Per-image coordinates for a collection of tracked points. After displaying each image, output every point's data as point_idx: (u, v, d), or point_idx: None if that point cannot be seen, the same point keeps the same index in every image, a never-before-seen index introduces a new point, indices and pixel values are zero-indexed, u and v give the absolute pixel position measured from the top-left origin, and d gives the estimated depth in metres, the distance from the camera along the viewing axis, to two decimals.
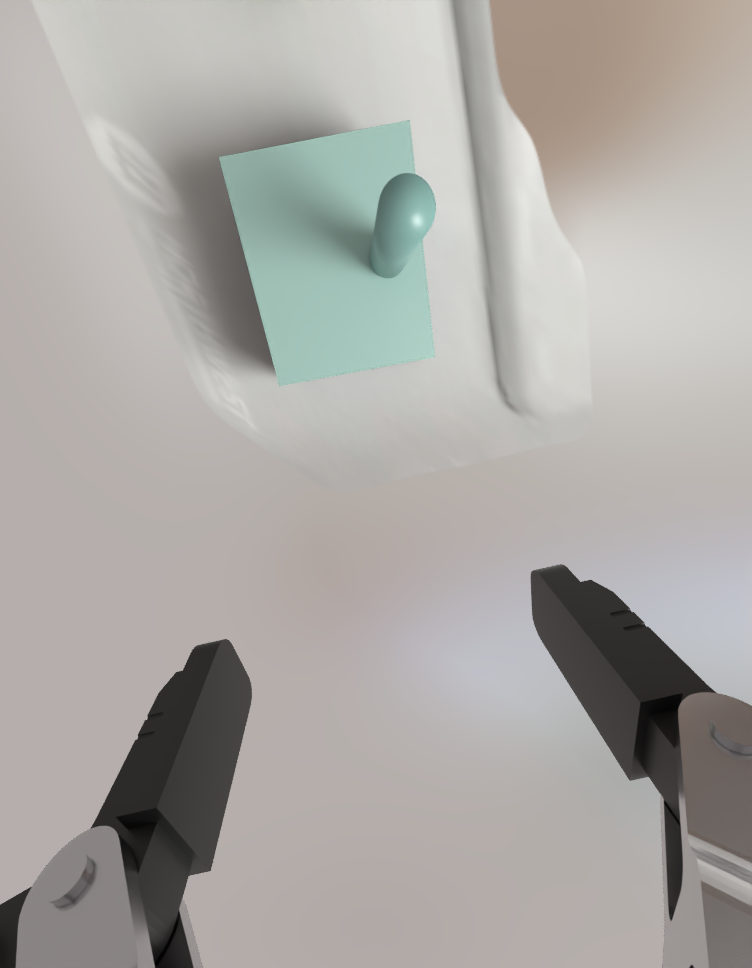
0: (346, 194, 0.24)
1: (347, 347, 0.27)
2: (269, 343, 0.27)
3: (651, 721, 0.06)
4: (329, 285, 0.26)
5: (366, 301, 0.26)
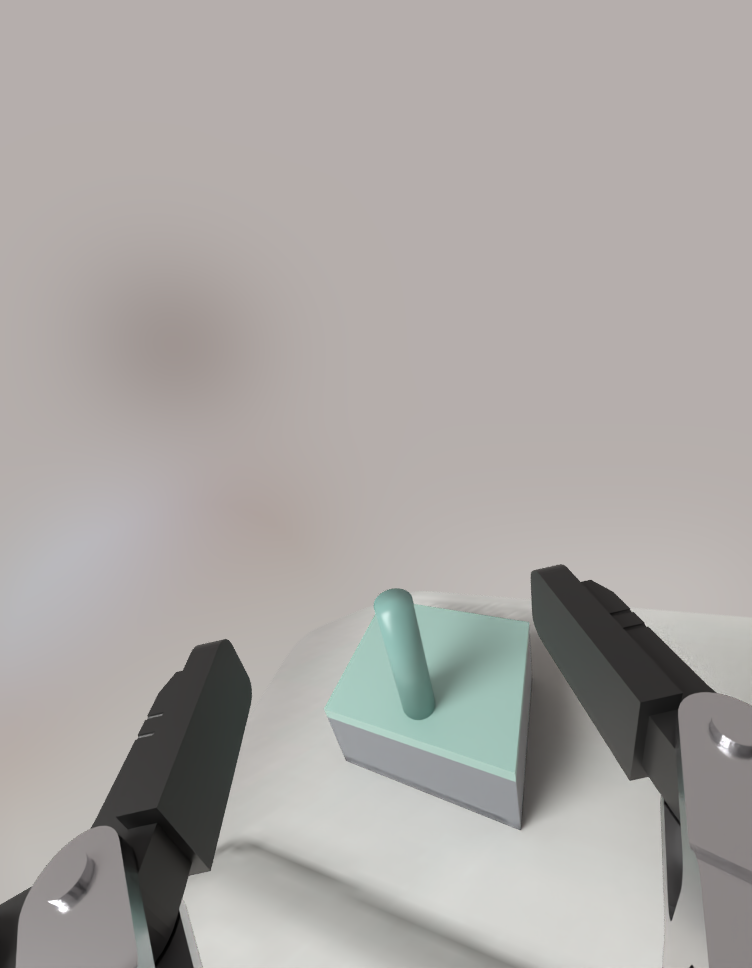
0: (477, 691, 0.27)
1: (377, 647, 0.33)
2: None
3: (650, 721, 0.06)
4: None
5: None
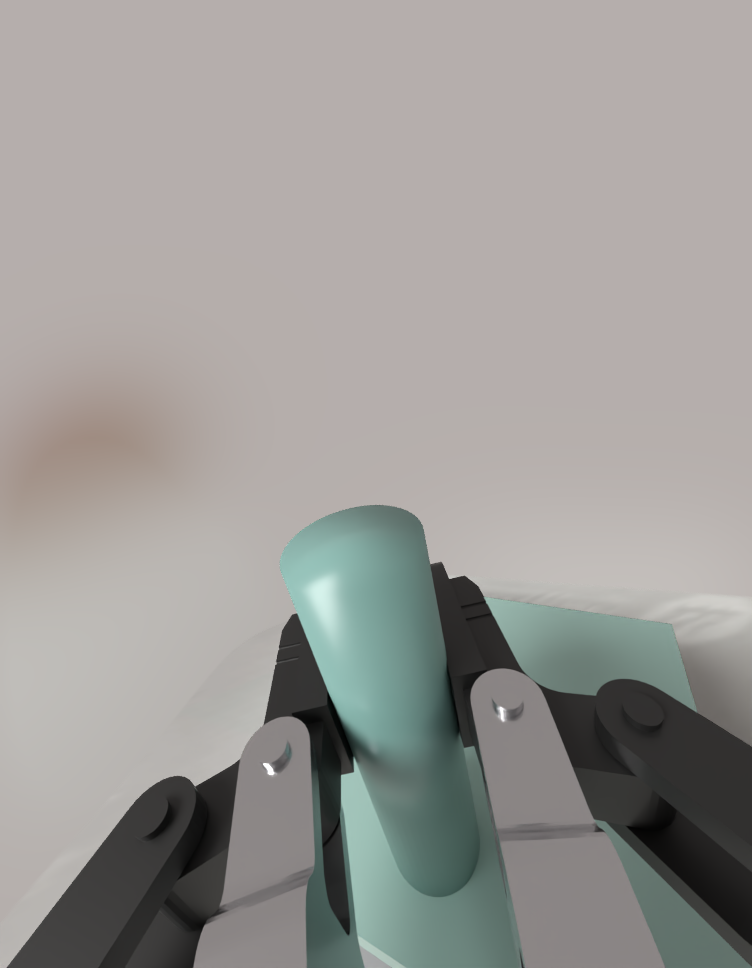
0: None
1: None
2: None
3: (466, 695, 0.07)
4: None
5: None
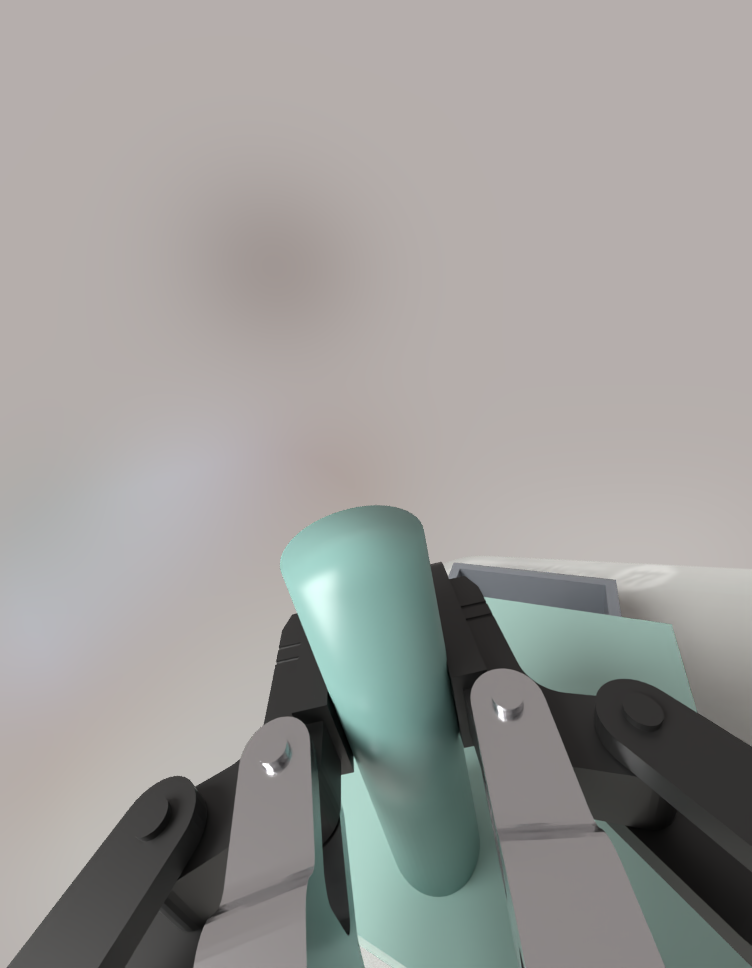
0: None
1: None
2: None
3: (466, 695, 0.07)
4: None
5: None
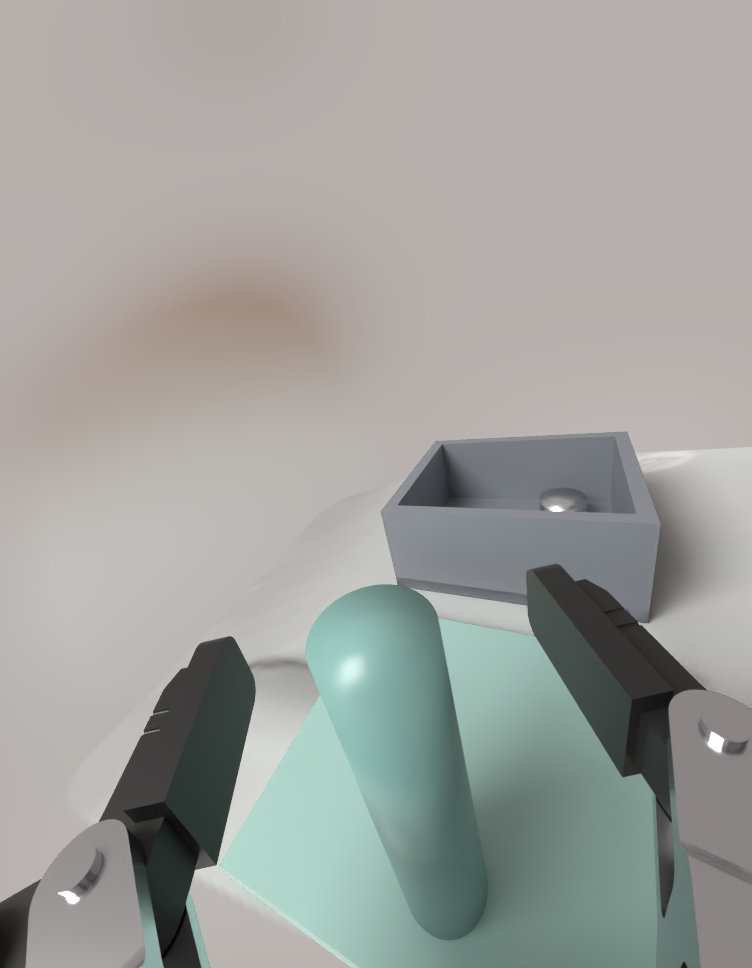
0: (593, 851, 0.11)
1: None
2: None
3: (641, 718, 0.06)
4: None
5: None
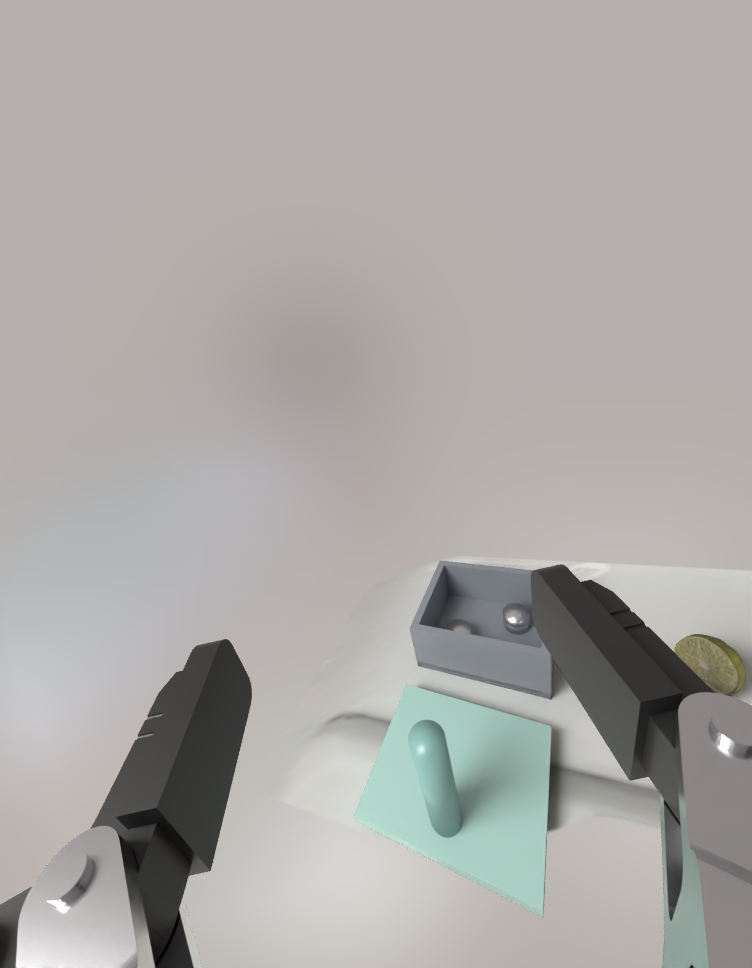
0: (502, 807, 0.28)
1: (402, 743, 0.34)
2: (433, 693, 0.38)
3: (651, 722, 0.06)
4: None
5: None
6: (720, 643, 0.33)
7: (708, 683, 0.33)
